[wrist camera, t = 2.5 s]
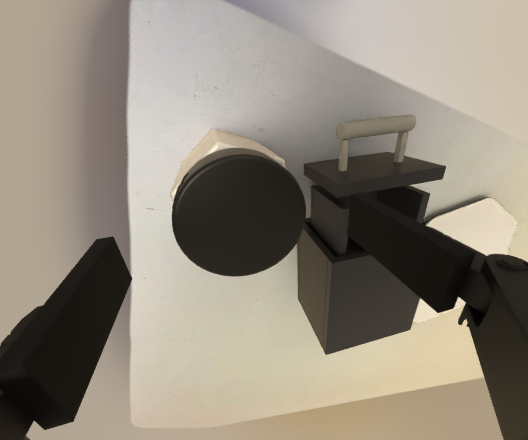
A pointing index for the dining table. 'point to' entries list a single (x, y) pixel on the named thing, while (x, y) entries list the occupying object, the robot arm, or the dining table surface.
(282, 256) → the jar
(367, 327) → the dark grey box
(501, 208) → the plate
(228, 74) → the dining table surface
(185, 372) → the dining table surface
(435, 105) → the dining table surface
